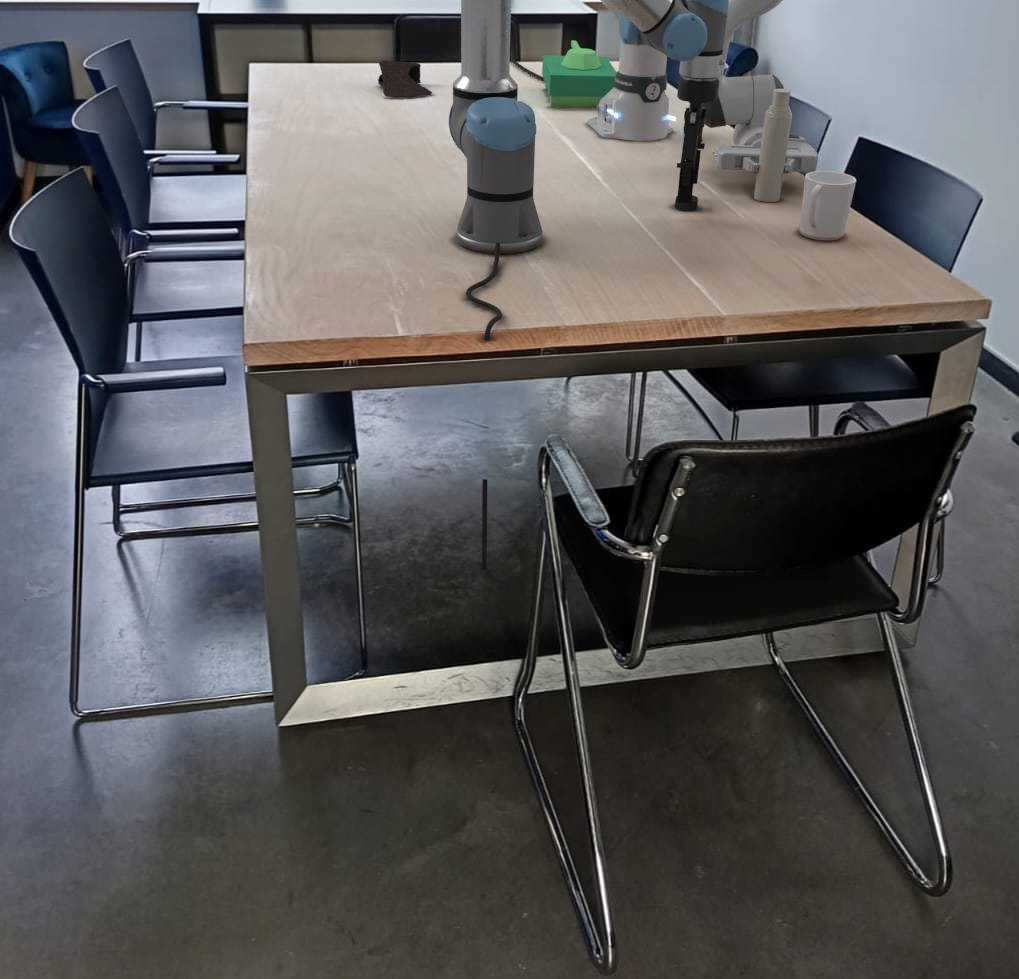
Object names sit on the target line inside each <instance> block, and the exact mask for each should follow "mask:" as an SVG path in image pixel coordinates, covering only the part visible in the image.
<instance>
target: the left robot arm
mask: <svg viewBox="0 0 1019 979" xmlns="http://www.w3.org/2000/svg"><path fill="white" fill-rule="evenodd" d="M609 1H611V2H612V3H613V4H614V5H615V6H616V7H617V8H618V9H619V10H620V14H619V30H618V35H619V34H620V37H619V39H620V38H621V40H622V42H623V43H624V44H627V45H636V46H639V45H648V46H650V47H652V48H654V49H656V50H658V51H660V52H662V53H663V54H665V55H667V58H669V59H670V60H672V61H678V62H679V70H678V73H679V75H680V77H679V79H678V84H677V94H676V95H677V98H678V100H680V101H682V102H687V103H689V107H686V108H685V110H684V114H683V120H684V123H683V142H682V149H681V157H680V162H677V163H676V168H677V169H679V175H678V176H679V177H678V178H679V179H678V187H677V195H676V196H677V202H683V203H691V202H692V195H693V192H694V185H698V181H699V180H698V179H699V171H700V170H699V169H700V162H701V152H702V150H705V146H706V145H705V144H706V143H703V140H704V138H703V131H704V128H705V119H706V115H707V109H705V103H711V102H714V101H716V100H717V98H718V91H719V80H718V79H717V78H718V77H719V76H720V71H721V66H720V65H724V64H725V65H726V63H725V60H721V58H722V54H723V45H724V37H725V30H726V22H727V17H728V3H729V1H728V0H609ZM511 12H512V0H460V19H461V20H460V25H461V26H460V29H461V30H460V37H461V38H460V50H461V51H460V53H461V56H460V58H461V62H460V66H461V67H460V69H461V70H460V71H461V72H460V75H459V76H458V77H457V78H456V79H455V80H454V81H453V82H452V105H451V107H450V110H449V114H448V128H449V133H450V137H451V138H452V141H453V142H454V145H455V146H456V147H457V148H458V149H459V150H460V152H461V153H462V154H463V155H464V157H465V159H466V192H467V193H466V198H465V202H464V205H463V209H462V211H461V214H460V218H459V220H458V224H457V227H456V241H457V243H458V244H459V245H461V246H462V247H464V248H466V249H468V250H470V251H475V252H479V253H486V254H494V260H493V267H492V270H491V272H490V274H489V275H488V276H487V277H486V278H484V279H482V280H480V281H478V282H475V283H474V284H472V285H470V286H469V287H468V288H466V291H465V295H466V298H467V299H468V300H469V301H470V302H472V303H474V304H476V305H479V306H481V307H484V308H487V309H489V310H491V311H493V312H494V313H495V316H494V317H493V318H491V319H490V320H489V321H488V322H487V324H486V327H485V330H484V335H483V341H485V342H488V341H490V336H491V332H492V328H493V327H494V325H495V324H496V323H497V322H499V321H500V320H502V317H503V314H502V311H501V309H500V308H499V307H497V306H496V305H494V304H492V303H490V302H488V301H484V300H482V299H479V298H477V297H475V296H474V295H473V294H472V292H474V291H475V290H476V289H478V288H480V287H483V286H484V285H487V284H489V283H491V281H492V280H494V278H495V277H496V275H497V273H498V269H499V263H500V255H506V254H507V255H508V254H517V253H524V252H527V251H530V250H533V249H536V248H538V247H539V246H540V245H541V244H542V243H543V229H542V224H541V221H540V220H541V219H540V218H539V214H538V213H539V212H538V210H537V206H536V204H535V199H534V184H535V181H534V180H535V158H536V156H535V154H536V135H537V124H536V114H535V111H534V109H533V108H532V107H531V106H530V105H529V104H527V103H525V102H524V101H520V100H518V99H519V98H518V97H519V96H518V92H519V86H518V83H517V82H516V80H514V79H513V77H512V76H511V74H510V65H511V63H510V62H511V60H510V56H511V20H512V19H511V17H512V13H511ZM481 485H482V490H481V491H482V494H481V495H482V497H481V498H482V499H481V500H482V501H481V502H482V503H481V510H482V512H481V570H482V571H487V568H488V567H487V563H488V562H487V561H488V557H487V556H488V478H487V479H485V478H482V484H481Z"/></svg>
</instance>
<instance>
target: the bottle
mask: <svg viewBox="0 0 1019 979" xmlns="http://www.w3.org/2000/svg"><path fill="white" fill-rule="evenodd" d="M773 92H774V93H773V101H772V104H771V105H770V107H769V108H768V110H767V111H766V113H765V119H764V126H763V133H762V140H761V148H760V155H759V162H758V163H759V168H758V169H759V171H758V173H757V174H756V178H755V184H754V190H753V191H754V192H753V199H755V200H756V201H759V202H763V203H775V202H778V201H780V199H781V195H782V194H781V193H782V187H783V180H784V174H785V173H784V167H785V161H786V154H787V147H788V141H789V135H791V134H790V133H791V127H792V120H793V112H792V110H791V107H790V105H789V102H790V96H791V92H792V91H791V90H790V89H787V88H784V89H774V91H773Z"/></svg>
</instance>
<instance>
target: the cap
mask: <svg viewBox="0 0 1019 979" xmlns="http://www.w3.org/2000/svg"><path fill="white" fill-rule="evenodd" d="M677 196H678V195H676V196H675V200H674V208H675V209H677V210H679V211H684V212H692V211H693V212H694V211H696V210H698V206H699V197H698V196H696V195H693V194H692V202H691V203H683V202H677Z"/></svg>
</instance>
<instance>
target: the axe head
mask: <svg viewBox="0 0 1019 979" xmlns="http://www.w3.org/2000/svg"><path fill="white" fill-rule="evenodd" d="M378 66H379V68H380V72H381V74H379V75H378V79H377V84H378V85H379V86H380V87H381V88H382V89H383V95H384V96H385V97H388V98H394V99H395V98H396V99H403V98H405V99H406V98H407V99H411V98H418V97H425V96H429V95H432V94H433V91H431V90H430V89H428V88H427V87H425V86H422V85H421V84H422V82H421V63H419V62H410V61H408V62H407V61H397V60H388V59H387V60H380V61H379V62H378Z"/></svg>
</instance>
